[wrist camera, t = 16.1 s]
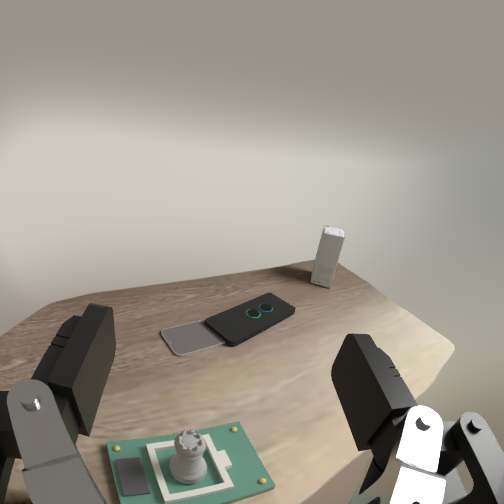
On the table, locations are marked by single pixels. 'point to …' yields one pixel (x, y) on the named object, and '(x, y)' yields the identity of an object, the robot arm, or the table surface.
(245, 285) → the table surface
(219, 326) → the smart home device
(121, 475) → the header board
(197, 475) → the rook chess piece
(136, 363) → the table surface
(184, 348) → the smartphone
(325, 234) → the skincare box
